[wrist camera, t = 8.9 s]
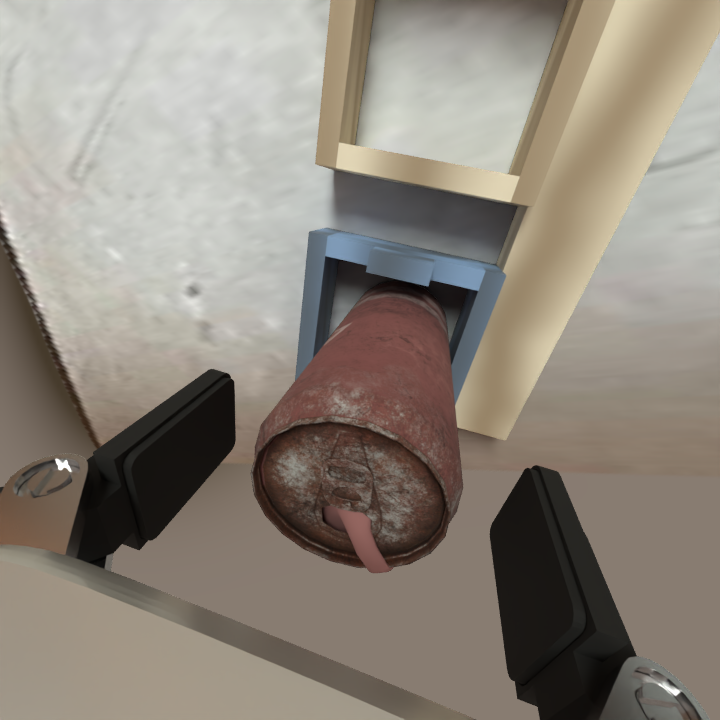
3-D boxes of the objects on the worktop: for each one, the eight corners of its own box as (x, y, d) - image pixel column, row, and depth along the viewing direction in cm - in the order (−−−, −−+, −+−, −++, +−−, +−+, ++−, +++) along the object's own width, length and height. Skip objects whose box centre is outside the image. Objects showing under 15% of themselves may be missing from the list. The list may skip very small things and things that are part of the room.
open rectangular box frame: (746, -79, 11) (914, -230, 7) (499, 421, 22) (514, 469, 18) (366, -116, 13) (336, -259, 9) (309, 370, 24) (284, 404, 20)
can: (384, 383, 23) (324, 596, 10) (335, 308, 21) (195, 456, 9) (465, 348, 20) (510, 570, 8) (417, 259, 19) (384, 371, 6)
